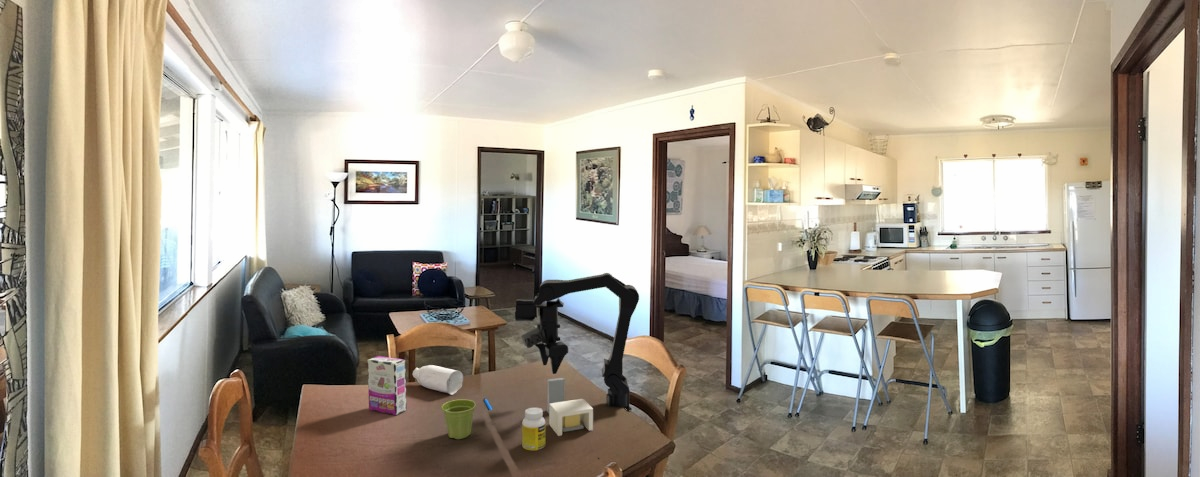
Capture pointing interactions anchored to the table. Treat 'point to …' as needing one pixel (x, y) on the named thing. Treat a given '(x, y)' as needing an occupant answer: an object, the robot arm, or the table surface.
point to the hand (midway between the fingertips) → (549, 369)
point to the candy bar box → (387, 385)
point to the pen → (487, 404)
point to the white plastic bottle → (439, 378)
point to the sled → (558, 397)
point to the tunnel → (570, 413)
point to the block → (571, 421)
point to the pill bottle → (533, 429)
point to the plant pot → (459, 417)
